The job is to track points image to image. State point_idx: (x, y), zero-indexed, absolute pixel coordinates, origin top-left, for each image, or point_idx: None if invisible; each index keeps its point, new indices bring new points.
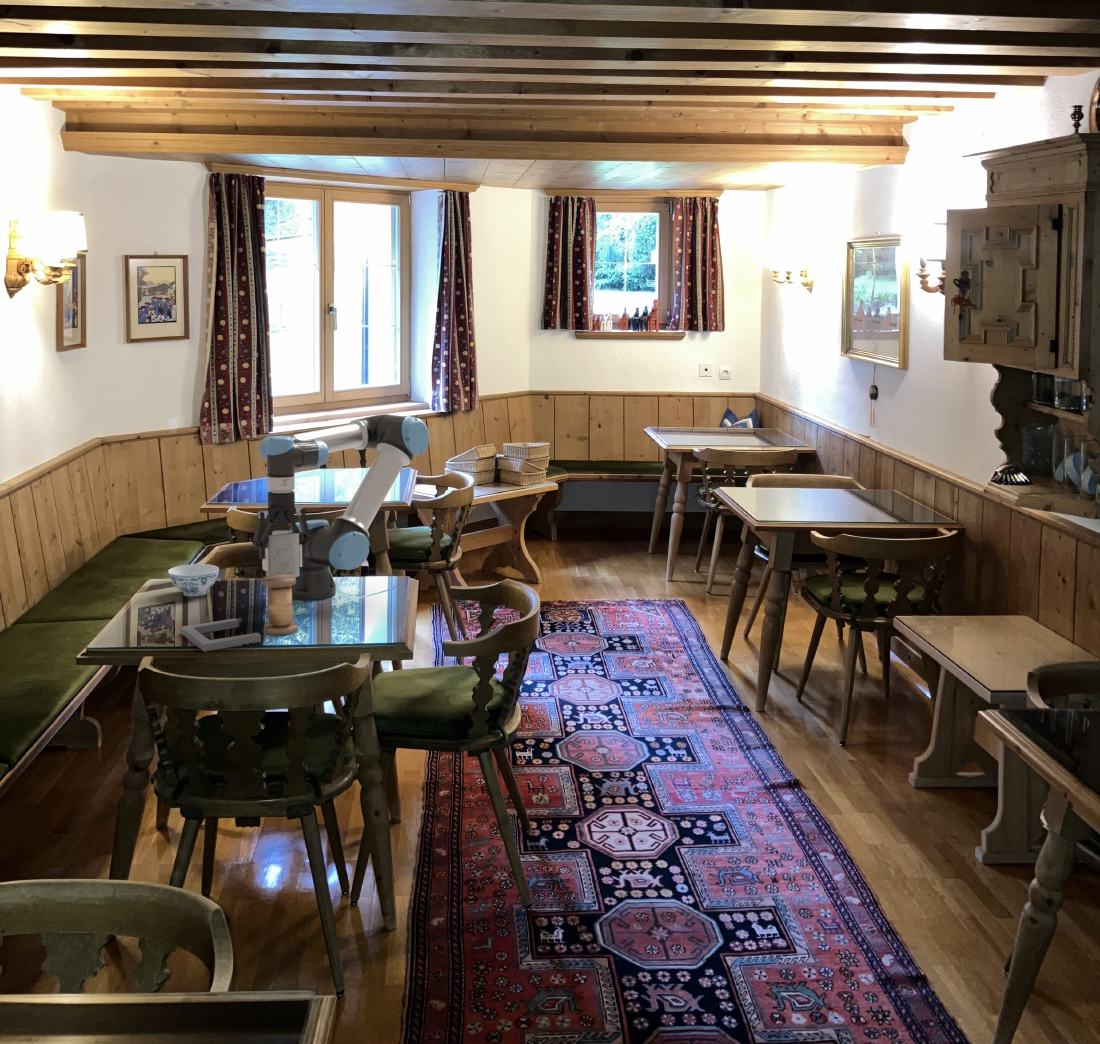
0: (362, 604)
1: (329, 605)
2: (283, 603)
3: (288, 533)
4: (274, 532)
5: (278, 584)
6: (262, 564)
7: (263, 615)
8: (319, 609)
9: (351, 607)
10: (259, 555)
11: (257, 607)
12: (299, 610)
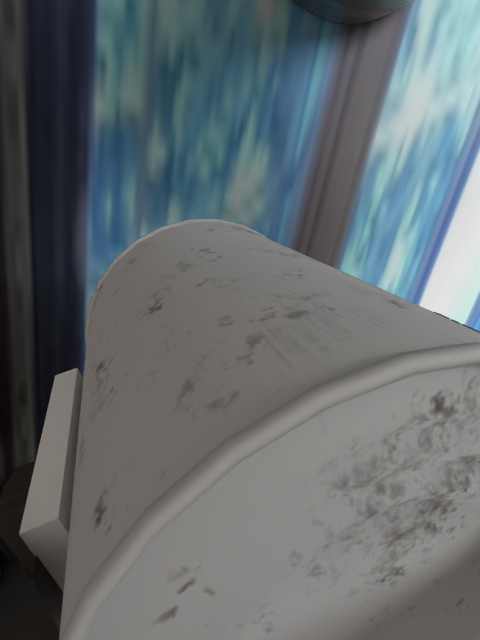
0: (459, 180)
1: (361, 148)
2: None
3: (474, 566)
4: (285, 533)
5: None
6: (51, 398)
7: (79, 214)
8: (313, 197)
9: (415, 209)
10: (3, 501)
11: (46, 40)
12: (239, 184)
